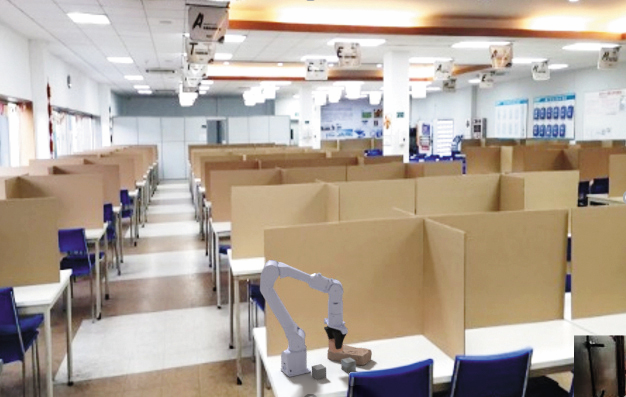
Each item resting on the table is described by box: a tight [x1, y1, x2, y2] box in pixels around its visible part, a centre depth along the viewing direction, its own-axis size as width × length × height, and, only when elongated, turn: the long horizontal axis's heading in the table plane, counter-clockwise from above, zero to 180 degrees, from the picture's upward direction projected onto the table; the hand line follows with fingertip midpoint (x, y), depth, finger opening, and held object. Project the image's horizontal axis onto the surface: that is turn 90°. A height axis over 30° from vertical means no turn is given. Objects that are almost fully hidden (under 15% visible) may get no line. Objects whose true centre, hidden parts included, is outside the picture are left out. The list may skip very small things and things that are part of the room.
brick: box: [327, 344, 373, 366], centre depth 226 cm, size 17×8×5 cm, turn 61°
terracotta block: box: [328, 339, 344, 353], centre depth 214 cm, size 4×4×4 cm
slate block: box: [340, 358, 357, 374], centre depth 215 cm, size 4×4×4 cm
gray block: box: [311, 363, 327, 381], centre depth 209 cm, size 4×4×4 cm
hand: (335, 346), depth 214 cm, fingers closed on terracotta block, 4 cm apart
